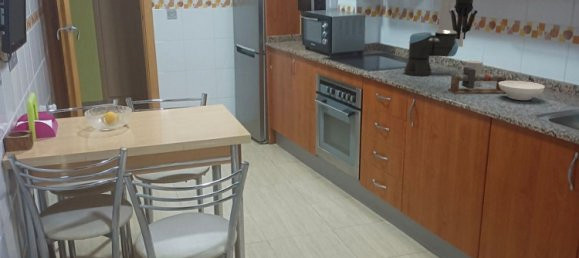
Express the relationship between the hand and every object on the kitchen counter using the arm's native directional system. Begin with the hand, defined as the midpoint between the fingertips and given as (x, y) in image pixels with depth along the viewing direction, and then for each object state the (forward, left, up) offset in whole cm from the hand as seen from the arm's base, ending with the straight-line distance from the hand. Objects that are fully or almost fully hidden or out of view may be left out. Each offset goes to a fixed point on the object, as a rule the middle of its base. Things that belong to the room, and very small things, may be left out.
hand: (459, 46), depth 254 cm
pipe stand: (0, +11, -22) cm, 25 cm away
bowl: (+16, +24, -22) cm, 36 cm away
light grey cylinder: (-18, +16, -22) cm, 33 cm away
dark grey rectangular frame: (0, +6, -20) cm, 20 cm away
